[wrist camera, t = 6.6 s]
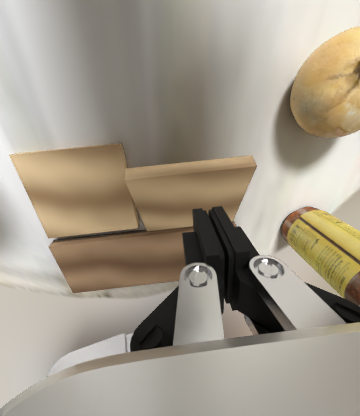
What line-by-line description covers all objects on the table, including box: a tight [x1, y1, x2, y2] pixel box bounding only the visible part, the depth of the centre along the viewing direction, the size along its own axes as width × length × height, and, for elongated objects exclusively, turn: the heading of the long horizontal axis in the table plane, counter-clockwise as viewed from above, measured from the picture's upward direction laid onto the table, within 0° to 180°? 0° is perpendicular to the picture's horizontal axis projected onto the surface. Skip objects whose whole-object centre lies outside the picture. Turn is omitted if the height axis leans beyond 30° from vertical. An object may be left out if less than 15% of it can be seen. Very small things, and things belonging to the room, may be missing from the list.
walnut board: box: [49, 221, 236, 293], centre depth 26 cm, size 9×24×1 cm, turn 95°
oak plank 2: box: [124, 155, 257, 232], centre depth 20 cm, size 10×11×1 cm
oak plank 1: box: [9, 143, 139, 238], centre depth 21 cm, size 10×11×1 cm
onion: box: [290, 27, 360, 138], centre depth 16 cm, size 8×8×7 cm
